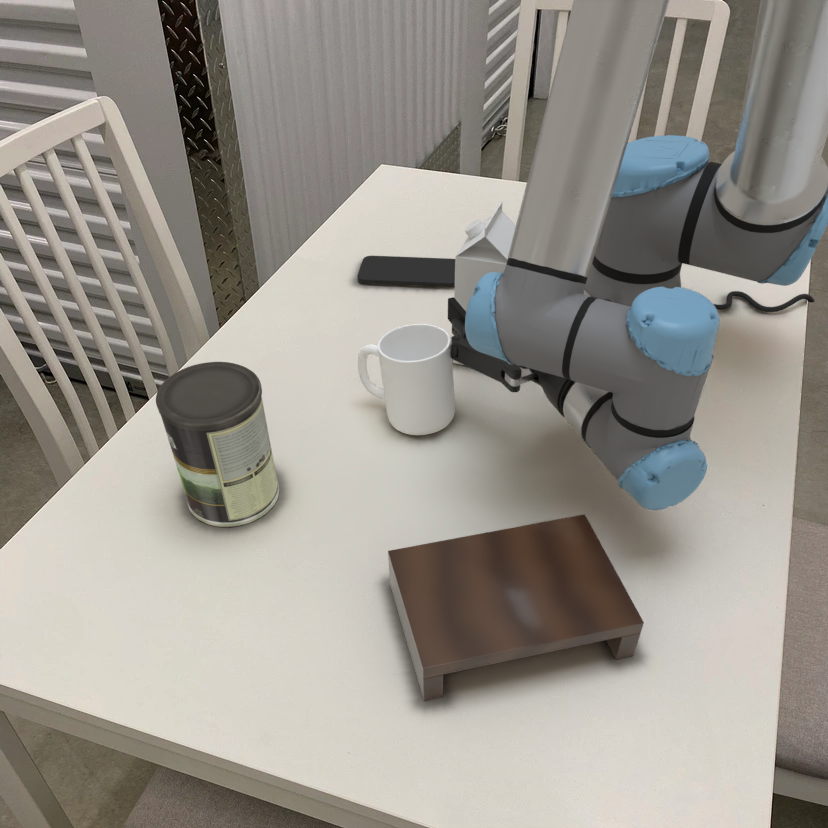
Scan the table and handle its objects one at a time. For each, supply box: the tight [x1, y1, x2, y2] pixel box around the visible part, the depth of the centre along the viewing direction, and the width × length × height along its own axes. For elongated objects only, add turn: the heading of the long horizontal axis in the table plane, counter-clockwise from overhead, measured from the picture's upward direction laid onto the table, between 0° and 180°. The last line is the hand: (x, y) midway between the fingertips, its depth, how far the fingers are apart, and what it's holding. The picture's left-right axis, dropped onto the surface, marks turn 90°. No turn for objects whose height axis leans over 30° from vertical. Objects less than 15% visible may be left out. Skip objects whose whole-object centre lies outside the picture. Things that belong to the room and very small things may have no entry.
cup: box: [357, 323, 456, 436], centre depth 96 cm, size 8×12×10 cm
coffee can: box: [155, 361, 280, 528], centre depth 86 cm, size 10×10×14 cm
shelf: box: [387, 513, 645, 701], centre depth 77 cm, size 20×14×5 cm
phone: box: [356, 255, 455, 288], centre depth 123 cm, size 7×1×15 cm
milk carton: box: [452, 200, 516, 366], centre depth 102 cm, size 7×7×19 cm
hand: (502, 295), depth 99 cm, fingers open, 13 cm apart
